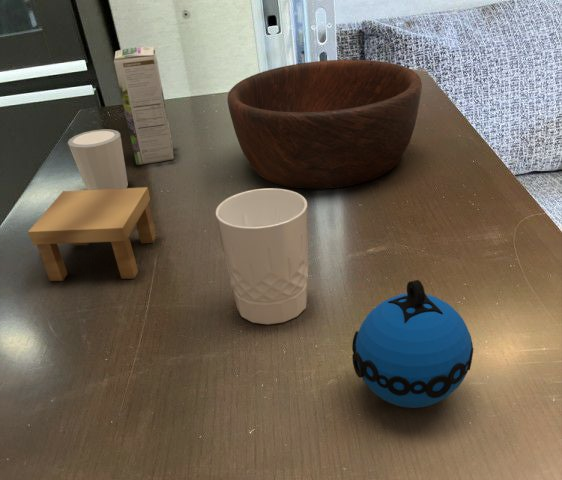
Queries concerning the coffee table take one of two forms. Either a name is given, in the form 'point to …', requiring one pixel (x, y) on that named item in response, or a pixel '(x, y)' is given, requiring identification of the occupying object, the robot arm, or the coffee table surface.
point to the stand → (94, 226)
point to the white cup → (266, 252)
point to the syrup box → (144, 104)
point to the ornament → (412, 349)
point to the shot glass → (100, 159)
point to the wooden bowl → (325, 121)
